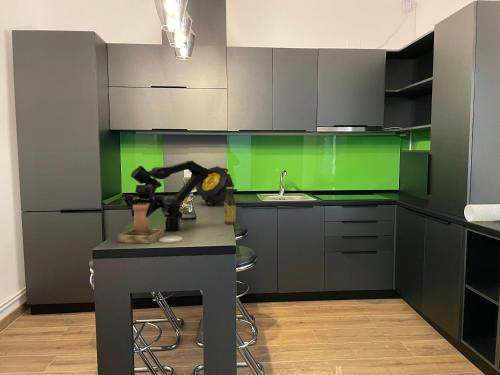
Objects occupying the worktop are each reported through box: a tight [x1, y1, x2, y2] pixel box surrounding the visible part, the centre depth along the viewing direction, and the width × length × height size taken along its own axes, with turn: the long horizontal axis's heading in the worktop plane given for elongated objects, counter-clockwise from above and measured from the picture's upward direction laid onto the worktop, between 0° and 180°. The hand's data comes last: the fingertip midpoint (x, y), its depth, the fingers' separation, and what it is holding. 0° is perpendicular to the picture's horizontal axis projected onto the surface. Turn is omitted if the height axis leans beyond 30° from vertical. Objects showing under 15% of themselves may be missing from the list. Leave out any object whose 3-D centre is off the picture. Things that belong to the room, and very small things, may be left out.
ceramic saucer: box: [158, 235, 183, 244], centre depth 158 cm, size 10×10×1 cm
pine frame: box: [117, 228, 165, 244], centre depth 161 cm, size 15×15×3 cm
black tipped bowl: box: [195, 165, 238, 207], centre depth 270 cm, size 28×28×24 cm
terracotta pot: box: [133, 203, 150, 232], centre depth 160 cm, size 7×7×12 cm
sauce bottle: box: [223, 187, 237, 225], centre depth 196 cm, size 6×6×20 cm
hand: (139, 216), depth 159 cm, fingers closed on terracotta pot, 6 cm apart
